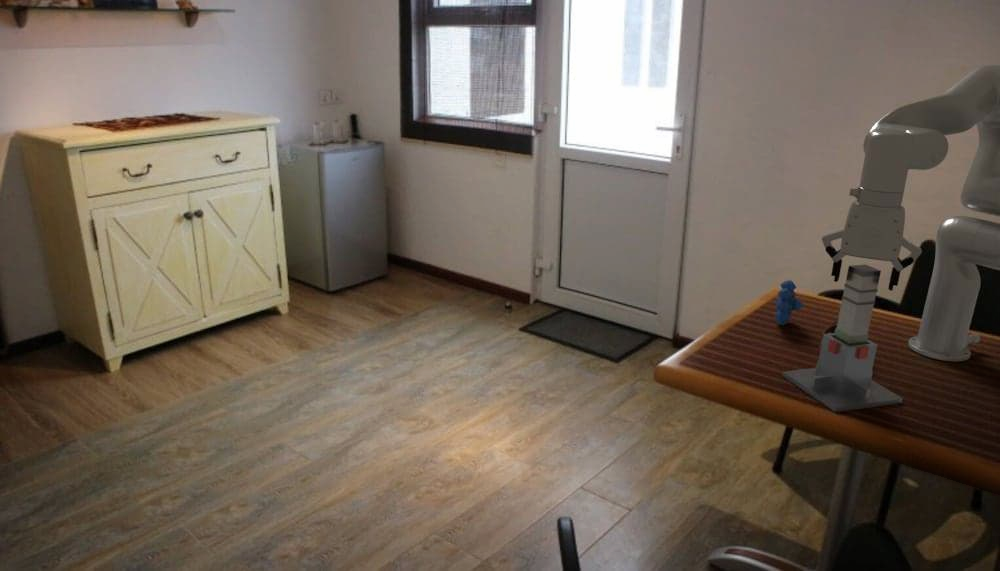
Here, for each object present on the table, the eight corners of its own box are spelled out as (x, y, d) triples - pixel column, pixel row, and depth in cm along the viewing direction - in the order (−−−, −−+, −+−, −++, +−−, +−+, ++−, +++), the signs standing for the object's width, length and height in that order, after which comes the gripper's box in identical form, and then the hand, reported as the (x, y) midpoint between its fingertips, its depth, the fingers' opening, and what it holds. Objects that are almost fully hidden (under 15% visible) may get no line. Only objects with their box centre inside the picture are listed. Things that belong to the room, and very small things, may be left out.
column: (847, 351, 153) (865, 264, 147) (863, 360, 149) (882, 270, 143) (830, 353, 152) (847, 265, 146) (845, 362, 148) (863, 272, 142)
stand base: (844, 368, 162) (854, 321, 159) (901, 402, 148) (913, 352, 144) (782, 376, 158) (790, 327, 154) (834, 412, 143) (845, 359, 140)
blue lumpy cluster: (795, 336, 179) (804, 289, 175) (766, 330, 182) (774, 283, 178) (803, 321, 188) (811, 276, 184) (775, 315, 191) (783, 271, 188)
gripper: (827, 196, 141) (813, 282, 146) (932, 208, 133) (912, 298, 139) (831, 188, 147) (817, 271, 153) (931, 199, 139) (913, 286, 145)
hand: (863, 284), depth 146 cm, fingers open, 9 cm apart
